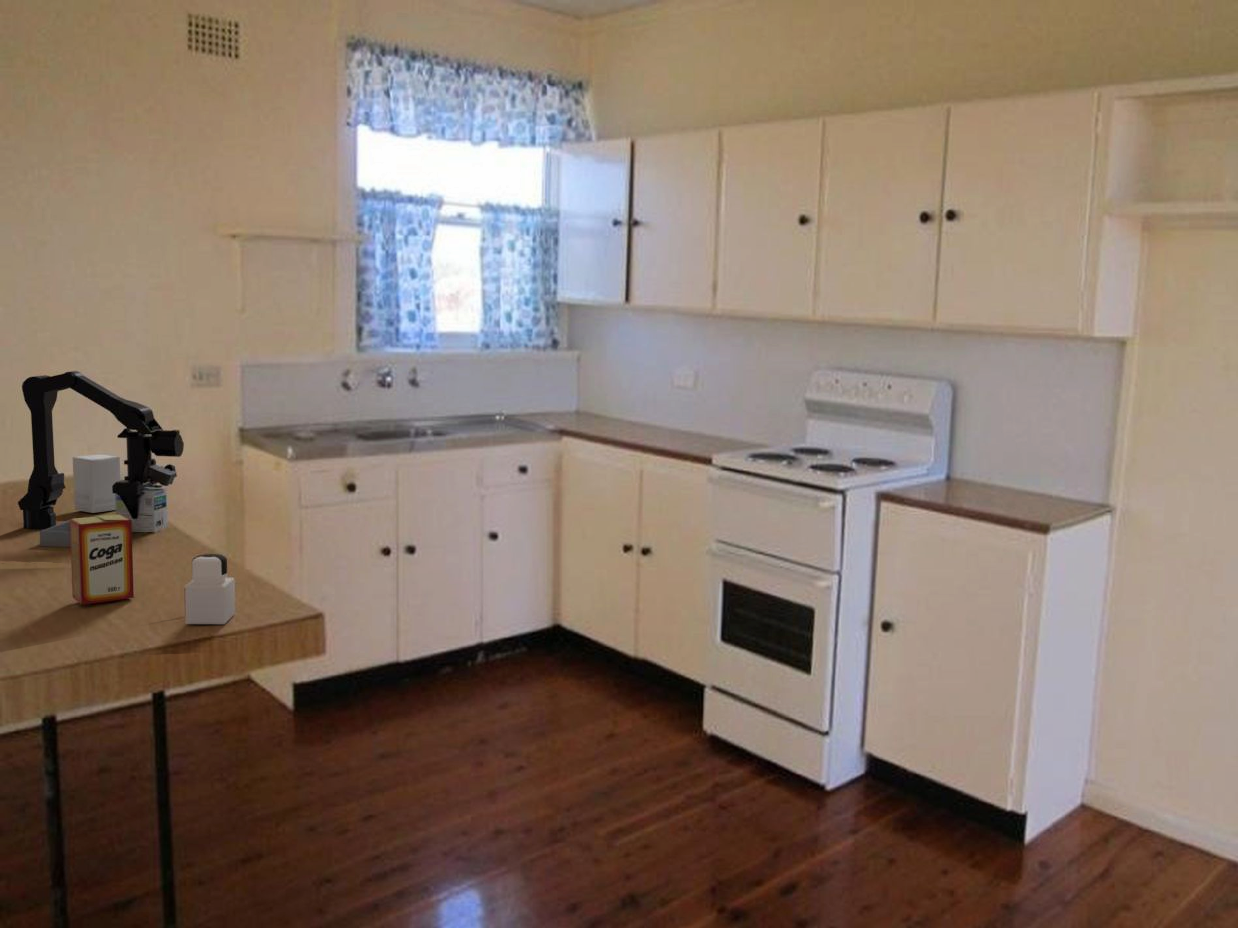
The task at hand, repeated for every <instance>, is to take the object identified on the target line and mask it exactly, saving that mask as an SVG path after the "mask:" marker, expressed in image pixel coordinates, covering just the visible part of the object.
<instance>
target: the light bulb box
mask: <svg viewBox="0 0 1238 928" xmlns="http://www.w3.org/2000/svg"><path fill="white" fill-rule="evenodd" d="M167 490H168V489H167V488H166V487H161V488H149V487H143V491H142V492H145V494H144V495H143V496H142V497H141V498H140V501H139V511H138V518H137V519H133V518H132V517H131V515H130V513H129V511H128V510H127V508H126V506H125V504H124V503H123V501H122V500H121V498H120V497H119V496H118V495H117V494H115V505H116V510H115V515H121V514H122V515H123V516H125V517H127V518H129V519H131V521H133V533H147V532H156V533H158V532H157V531H159V530H161V531H163V530H162V529H163V528H165V527H166V526H168V527H169V517H168V492H167ZM159 532H160V531H159Z"/></svg>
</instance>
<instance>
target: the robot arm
mask: <svg viewBox="0 0 1238 928" xmlns="http://www.w3.org/2000/svg"><path fill="white" fill-rule="evenodd" d="M21 384H22V385H21V390H22V394H23V400H24V402H25V404H26V406H27V408H28V409H29V411H30V422H31V425H30V426H31V439H32V457H33V458H32V459H33V460H32V461H33V462H32V463H33V469H32V471H31V474H30V477H29V479H28V485H27V493H25V494H24V495H23V497H21V498H20V499H19V500H18V502H17V505H18V507H19V510H20V511H22V519H23V520H22V524H23V529H27V530H45V529H47V528H50V527H53V526H55V525H57V520H56V518H57V516H56V515H57V514H56V512H55V510H54V506H56V504H57V502H58V499H59V498H60V497H61V496H62V495H63V493H64V489H66V488H67V487H66V486H65V473H64V472H60V473H59V472H58V469H57V468H56V464H55V447H54V446H55V445H54V442H55V441H54V427H53V410H54V407H55V404H56V403H57V400H58V399H57V398H58V392H60V391H64V390H67V389H71V390H72V391H74V392H76V393H78V394H79V395H81V396H83V397H84V398H86V399H88V400H90V401H91V402H93V403H95V404H97V405H98V406H100V407H101V408H104V409H105V410H107V411H109V412H110V413H111V414H112V415H113V416H114V418H115V419H116V420H117V421H118V422H119V423H120V424H122V425H123V426H124V427H125V428H123V430H122V431H121V432H119V434H118V435H117V439H125V440H126V459H124V460H123V465H126V467H127V468H126V469H127V471H126V472H127V475H125V476H124V480H123V479H120V481H118V482H116V483H115V484H114V485H113V486H112V493H114V494H117V495H118V496H119V497H120V498H121V500H122V501H123V503H124V504H125V506H126V508H127V510H128V511H129V513H130V515H131V517H132V518H133V519H137V518H138V511H139V501H140V498H141V497H142V496H143V495H144V494H145V492H142V491H143V487H149V488H163V487H169V486H170V485H173V483H174V480H175V478H177V477H178V474H177V471H176V466H175V465H174V464H172V463H168V464H166V465H165V466H163V465H161V466H160V465H157V461H156V459H155V458H153V456H152V455H153V454H154V456H155V457H170V458H172V457H175V458H177V457H178V458H179V457H181V456H182V455H183V452H184V448H185V447H184V445H185V444H184V443H185V442H184V440H183V438H182V436H181V433H180V432H181V431H180V429H172V430H171V429H170V430H167V429H165V430H164V429H163V427H162V426H161V425H160V424H159V422H158V420H157V419H156V418H155V415H154V412H153V410H152V409H151V408H150V407H149V406H146V405H144V404H141V403H139V402H137V401H133V400H129V399H126V398H124V397H121V396H120V395H117V394H116V393H114V392H112V391H111V390H109V389H107V388H106V387H104V386H102V385H100V384H99V383H97V382H95V381H94V380H92V379H91V378H89V377H88V376H87V377H86V375H84V374H83V373H82V372H80V371H77V370H72V371H67V372H64V373H61V374H56V375H52V376H51V375H47V374H46V375H36V376H35V375H34V376H29V377H27V378H26V379H25V380H23V381H22V383H21ZM158 484H159V485H158Z"/></svg>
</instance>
